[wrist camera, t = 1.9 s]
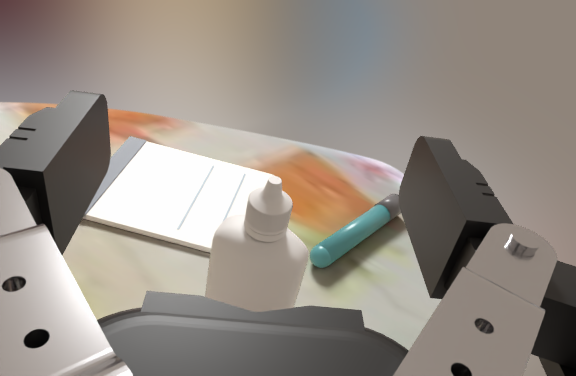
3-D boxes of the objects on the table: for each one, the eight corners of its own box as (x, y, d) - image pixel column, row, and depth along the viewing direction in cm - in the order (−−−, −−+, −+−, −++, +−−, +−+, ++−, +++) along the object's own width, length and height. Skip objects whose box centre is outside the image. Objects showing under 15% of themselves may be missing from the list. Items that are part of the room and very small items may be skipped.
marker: (322, 276, 36) (325, 257, 35) (303, 263, 37) (306, 244, 36) (402, 216, 44) (408, 199, 43) (385, 206, 45) (390, 189, 44)
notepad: (242, 261, 36) (243, 256, 35) (66, 214, 36) (65, 208, 36) (272, 179, 44) (273, 174, 44) (130, 141, 45) (130, 136, 45)
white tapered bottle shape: (247, 279, 35) (274, 142, 27) (296, 335, 32) (341, 198, 24) (194, 304, 32) (209, 161, 25) (243, 369, 29) (275, 227, 22)
